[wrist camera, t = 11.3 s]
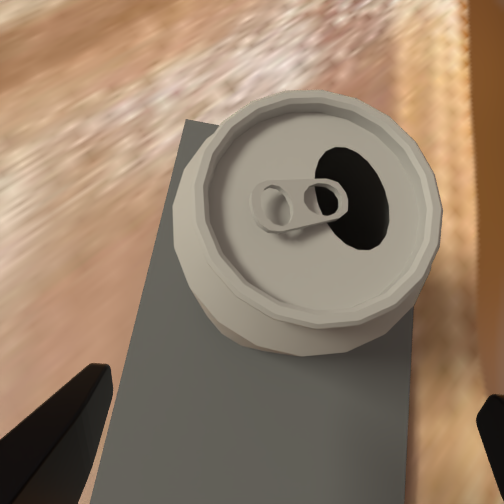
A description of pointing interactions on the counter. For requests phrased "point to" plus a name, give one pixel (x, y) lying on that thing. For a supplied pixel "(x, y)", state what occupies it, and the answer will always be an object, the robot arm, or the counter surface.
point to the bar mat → (248, 404)
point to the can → (307, 223)
